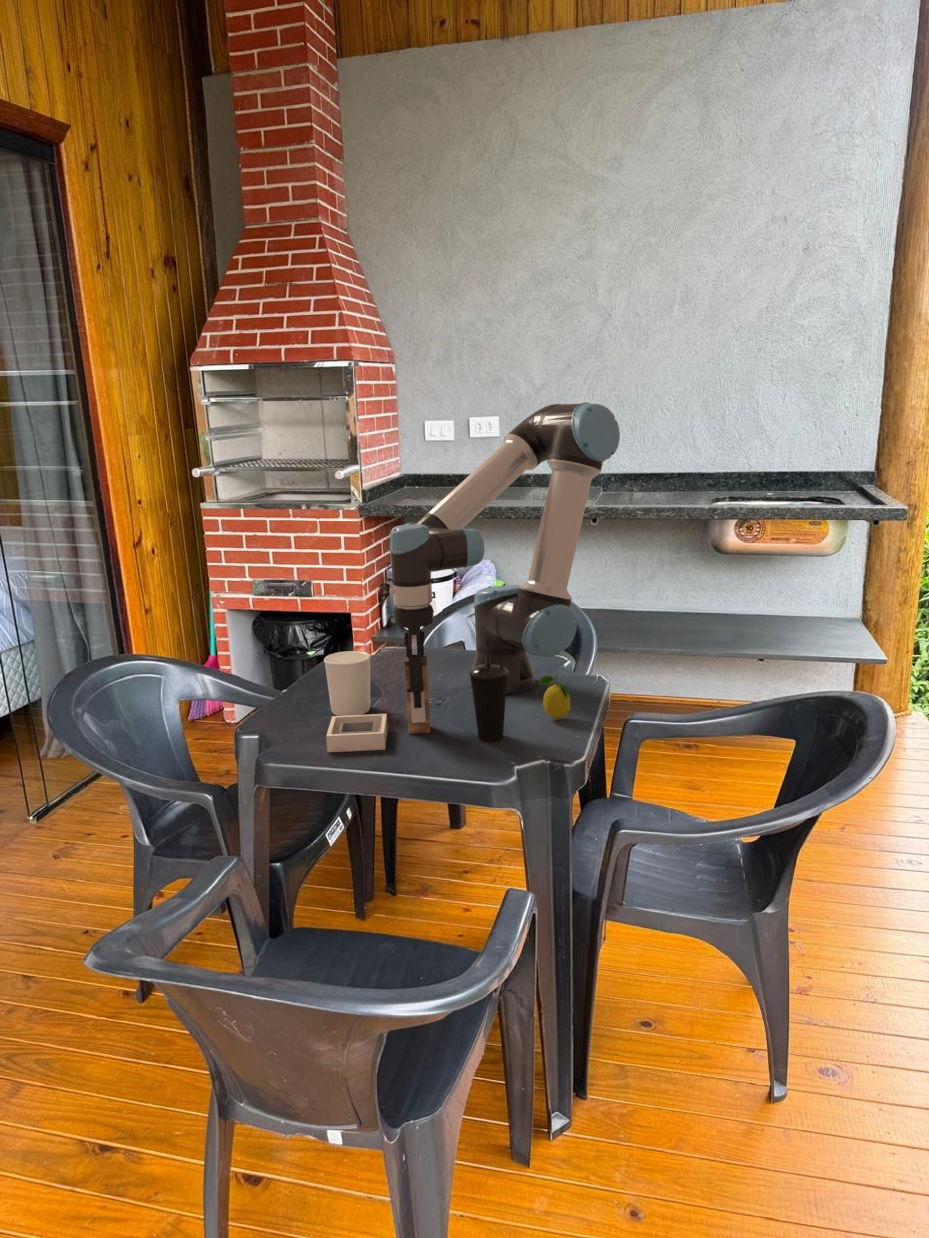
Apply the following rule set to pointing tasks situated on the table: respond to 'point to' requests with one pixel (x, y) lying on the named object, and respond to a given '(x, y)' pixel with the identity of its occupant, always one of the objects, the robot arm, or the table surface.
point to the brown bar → (424, 726)
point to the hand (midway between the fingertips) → (418, 717)
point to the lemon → (555, 698)
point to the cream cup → (348, 682)
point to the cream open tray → (357, 733)
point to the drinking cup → (489, 698)
